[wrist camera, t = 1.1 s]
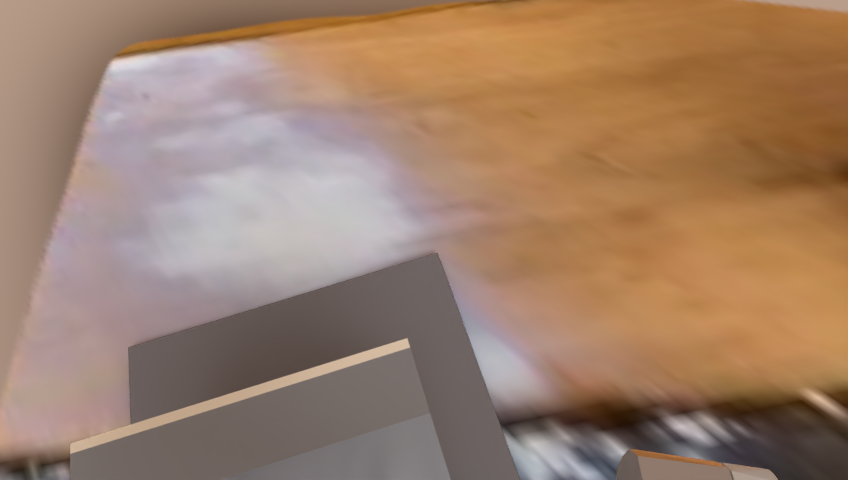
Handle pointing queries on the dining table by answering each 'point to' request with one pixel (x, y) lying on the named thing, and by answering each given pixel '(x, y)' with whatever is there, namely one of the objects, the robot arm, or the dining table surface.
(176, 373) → the felt mat
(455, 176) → the dining table surface
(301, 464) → the glazed tile
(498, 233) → the dining table surface
